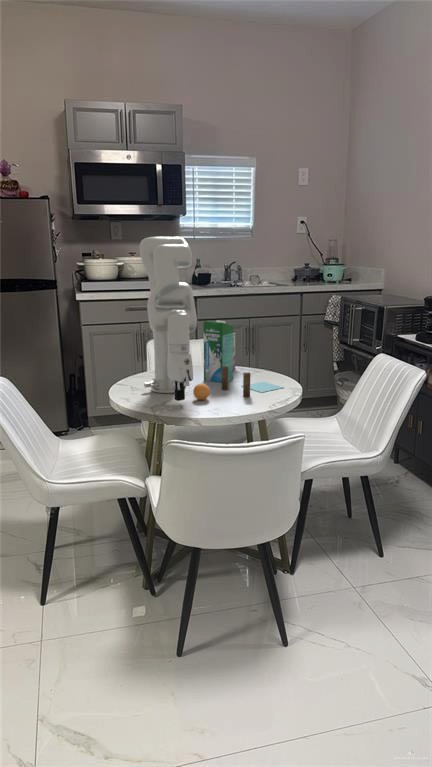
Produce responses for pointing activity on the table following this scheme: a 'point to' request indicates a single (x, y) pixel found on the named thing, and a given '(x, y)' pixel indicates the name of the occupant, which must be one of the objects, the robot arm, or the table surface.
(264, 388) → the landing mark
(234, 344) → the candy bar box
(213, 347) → the milk carton
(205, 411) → the table surface
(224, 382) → the left post
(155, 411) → the table surface
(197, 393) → the ball
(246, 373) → the right post
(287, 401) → the table surface
